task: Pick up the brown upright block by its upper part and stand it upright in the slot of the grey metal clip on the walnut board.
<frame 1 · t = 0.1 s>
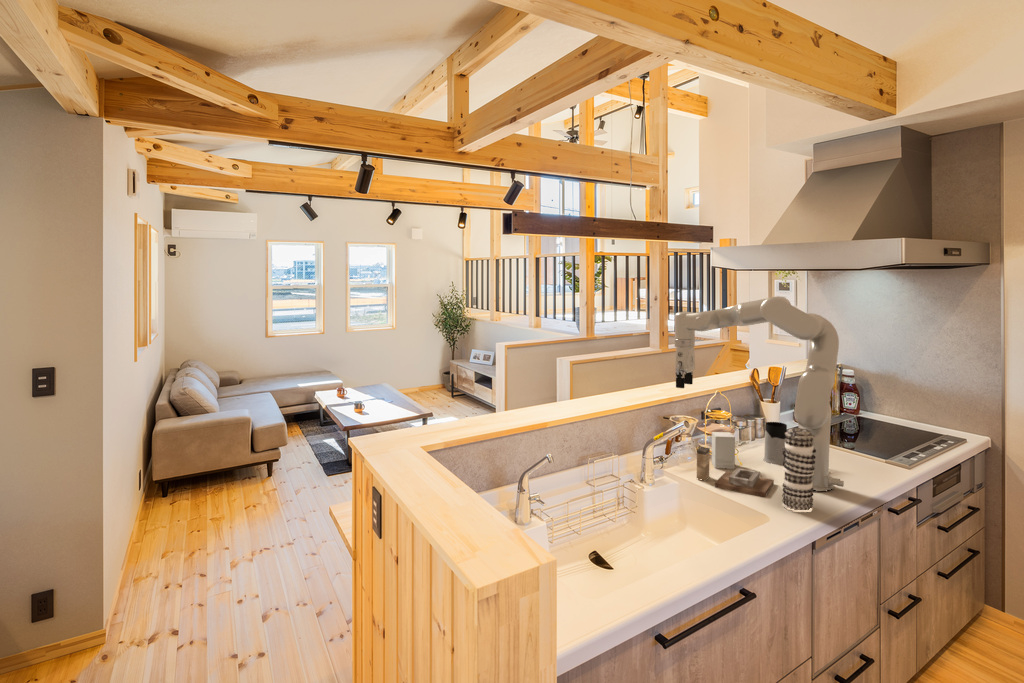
hand: (684, 385, 201), 31 cm above the countertop, tool pointing down, fingers open, 9 cm apart
supplement box: (722, 466, 199), on the countertop
decorative candle: (797, 508, 159), on the countertop
brown upright block: (703, 478, 186), on the countertop
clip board: (744, 485, 178), on the countertop
glass holder: (782, 461, 202), on the countertop
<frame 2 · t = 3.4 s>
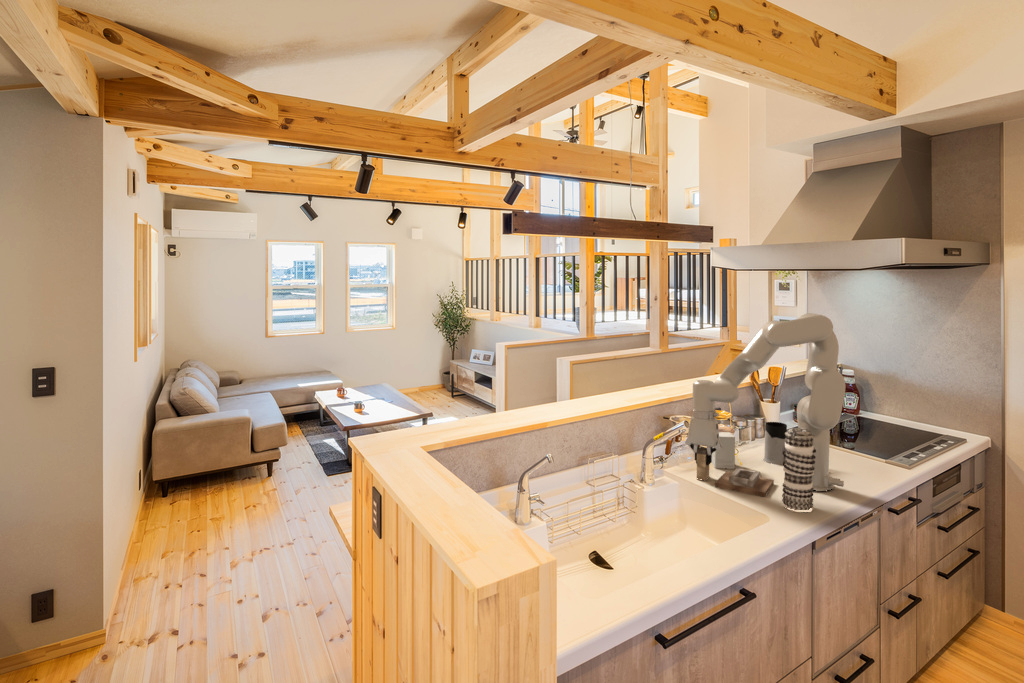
hand: (703, 463, 185), 6 cm above the countertop, tool pointing down, fingers closed on brown upright block, 3 cm apart
brown upright block: (703, 478, 186), on the countertop, touching gripper
everything else where it was.
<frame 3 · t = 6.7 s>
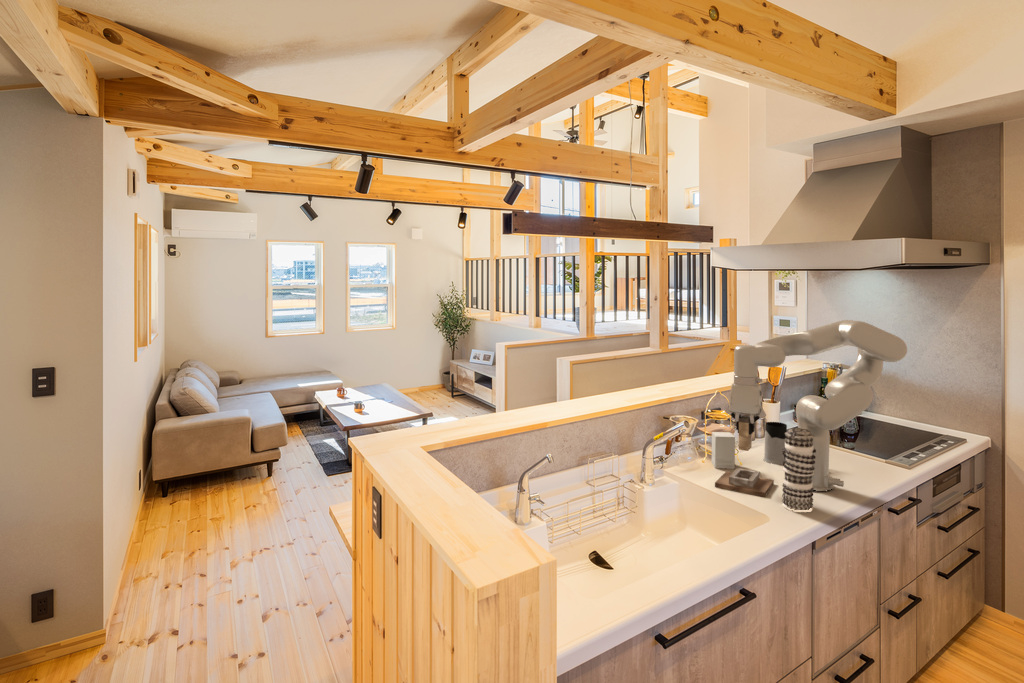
hand: (745, 432, 176), 19 cm above the countertop, tool pointing down, fingers closed on brown upright block, 3 cm apart
brown upright block: (745, 448, 177), point 13 cm above the countertop, touching gripper
everything else where it was.
when the fingers open (8 cm above the countertop, at t = 10.1 s): brown upright block drops 1 cm, resting on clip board.
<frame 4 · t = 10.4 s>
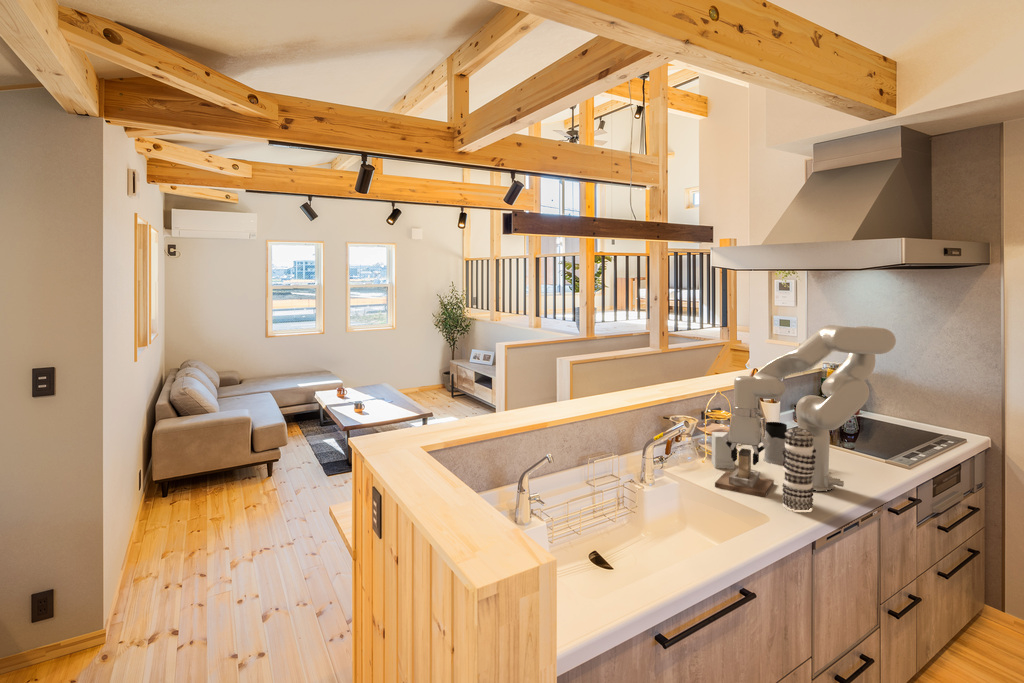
hand: (744, 461, 177), 9 cm above the countertop, tool pointing down, fingers open, 6 cm apart
brown upright block: (744, 481, 178), point 1 cm above the countertop, touching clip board
everything else where it was.
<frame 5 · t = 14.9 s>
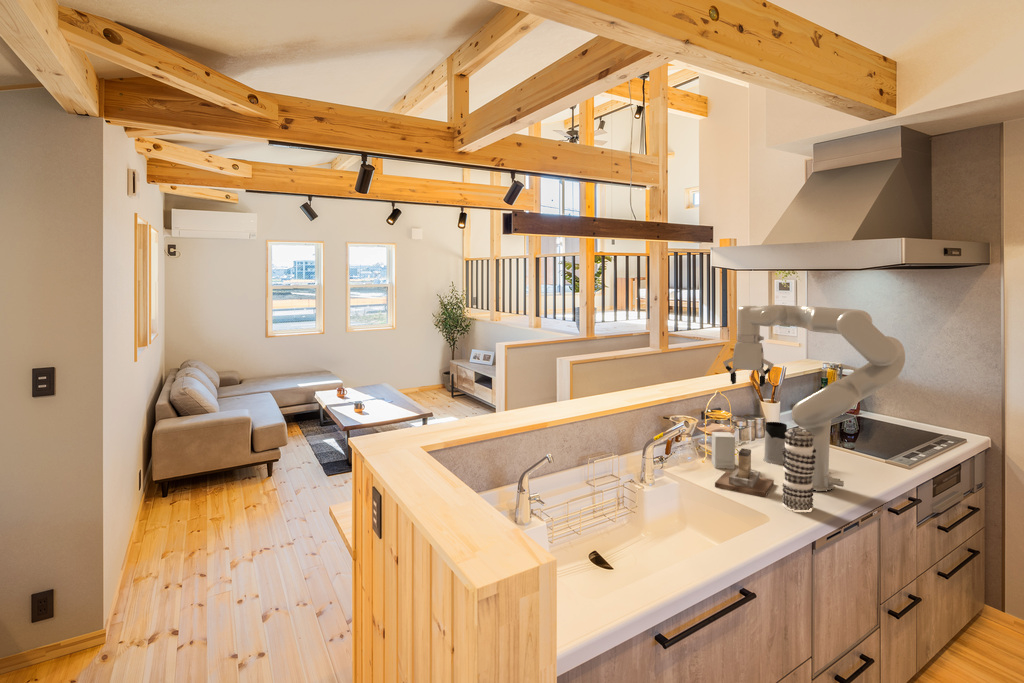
hand: (747, 384, 188), 33 cm above the countertop, tool pointing down, fingers open, 9 cm apart
nothing on the countertop moved.
at the end: brown upright block 0.0 cm off-centre on the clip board, point 1.5 cm above the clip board's base; brown upright block tilted 0°; the gripper is holding nothing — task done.
